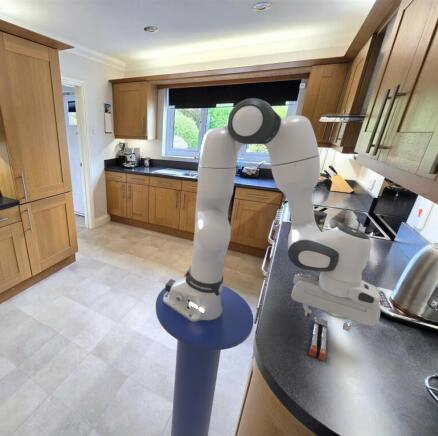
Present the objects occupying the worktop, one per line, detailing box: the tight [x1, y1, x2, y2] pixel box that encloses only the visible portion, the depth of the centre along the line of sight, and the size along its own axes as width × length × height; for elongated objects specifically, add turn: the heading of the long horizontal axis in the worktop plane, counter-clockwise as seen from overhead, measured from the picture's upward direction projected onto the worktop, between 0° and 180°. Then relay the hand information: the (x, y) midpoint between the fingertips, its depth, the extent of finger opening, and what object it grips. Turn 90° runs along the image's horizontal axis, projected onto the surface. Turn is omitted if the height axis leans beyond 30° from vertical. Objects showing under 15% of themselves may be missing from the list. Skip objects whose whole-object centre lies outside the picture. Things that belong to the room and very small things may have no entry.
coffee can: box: [314, 209, 328, 231], centre depth 153 cm, size 10×10×14 cm
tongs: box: [308, 316, 329, 362], centre depth 75 cm, size 16×4×3 cm, turn 144°
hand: (326, 322), depth 72 cm, fingers open, 8 cm apart
